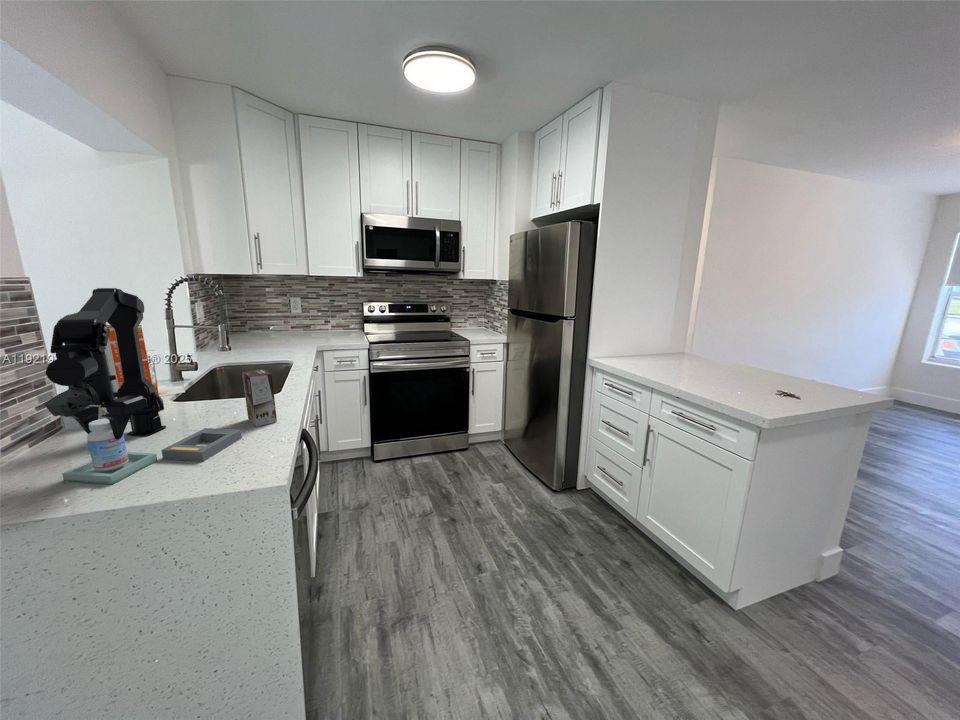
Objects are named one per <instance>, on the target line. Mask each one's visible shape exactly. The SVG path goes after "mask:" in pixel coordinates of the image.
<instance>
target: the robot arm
mask: <svg viewBox="0 0 960 720" xmlns="http://www.w3.org/2000/svg"><path fill="white" fill-rule="evenodd" d="M144 313H145V304H144V302H143V300H141V298H139V296H137V295H135V294H132V293H128V292H124V291H123V290H122V289H121V288H117V287H98V288H97V287H96V288H95V289H92V295H91V296H90V297H89V299H88V300H87V301H85V303H84V304H83V306H82V307H81V308H80V310H79V311H77V312H75V313H70V314H67V315H65V316H63V317H61V318H60V319H59V320H57V322H56V324H55V325H54V327H53V331H52V332H53V333H52V338H51V345H50V351H49V352H50V354H55V358H56V359H54V360H52V361H51V362H50V363H48V365H47V367H46V369H45V375H46V377H47V379H48V380H49V381H51V382H52V383H53V384H56V385H58V386H63V387H68V389H67V390H63V392H60V393H58V394H57V395H55V396H53V397H51V398H49V399H48V400H47V401H45V402H44V403H43V405H44V406H45V407H46V410H48V412H49V413H50V414H51V415H52V416H53V417H58V416H59V417H65V418H67V417H68V418H69V417H70V418H73V419H74V420H75V421H76V423H78V424H79V425H80V426H81V428H82V429H83V430H84V431H85V433H86V434H87V435H88V434H89V433H90V432H92V431H91V430H90V429H89V423H90V422H92V421H95V420H99V414H100V413H99V412H100V411H99V410H100V407H102V408H106V410H107V412H108V413H107V412H106V413H105V414H102V415H101V417H102V418H103V419H104V418H106V419H108V420H109V422H110V425H111V428H112V431H113V434H114V437H115V439H120V438H122V436H123V434H124V432H125V430H126V428H127V426H128V423H130V427H131V431H129V432H127V433H126V435H127V436H138V437H139V436H140V437H141V436H143V437H148V436H150V435H153V434H155V433H157V432H159V431H162V430H164V429H166V428H167V425H162V420H161V415H159V413H160V412H162V411H164V410H165V406H164V405H165V404H164V400H163V399H162V398H161V396H160V395H159V393H158V392H157V391H156V388H155V385H154V384H153V382H152V383H151V382H150V381H148V380H147V379H146V377H145V372H144V366H143V359H142V353H141V347H140V341H139V335H138V326H139V325H141V323H142V321H144ZM106 322H108V323H109V324H110V325H111V326H112V327H113V328H114V329H115V333H116V338H117V344H118V350H119V356H120V362H121V367H122V373H123V379H124V382H123V384H122V385H121V387H120V389H118V391H117V392H114V391H113V386H112V382H111V381H112V380H116V375H110V372H109V368H108V363H107V359H106V354H105V351H104V350H105V349H106V347H105V346H107V343H108V338H109V333H110V329H109V328H108V327H107V325H106ZM115 397H117V399H115V400H114V398H115ZM129 419H130V422H128V421H129Z"/></svg>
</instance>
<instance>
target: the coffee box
mask: <svg viewBox="0 0 960 720" xmlns="http://www.w3.org/2000/svg"><path fill="white" fill-rule="evenodd" d="M241 376H242V382H243V384H242V385H243V390H244V391H243V392H244V398H245V405H246V412H247V418H248V421H249V422H251V423H252V425H254V427H256V428H257V427H261V426H266V425H271V424H274V423H277V422H278V420H277V417H278V416H277V409H276V399H275V390H274V381H273V373H271V372H270V371H268V370H266V369H264V368H258V369H253V370H249V371H242V372H241Z"/></svg>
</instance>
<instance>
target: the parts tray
mask: <svg viewBox="0 0 960 720" xmlns="http://www.w3.org/2000/svg"><path fill="white" fill-rule="evenodd" d="M127 454H128V459H129V461H128V462H127V463H126V464H125V465H123V466H121V467H118V468H115V469H112V470H106V471H99V470H95V469H94V467H93V463H92V459H91V460H89V461H86V462H84V463H83V464H81V465H80V464H79V465H77V466H75V467H74V468H71V469H69V470H67V471H65V472H62V473H61V475H62V478H63V482H65V481H68V483H81V484H98V485H99V484H100V485H115V484H116V483H117V484H118V482H121V481H122V480H124V479H126V478H128V477H130V476H132V475H134V474H135V473H138V472H139V471H142V470H143V469H145V468H148V466H151V465H152V464H155V463H156V462H158V456H157V453H151V452H149V453H148V452H133V451H127Z"/></svg>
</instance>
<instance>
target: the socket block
mask: <svg viewBox="0 0 960 720" xmlns="http://www.w3.org/2000/svg"><path fill="white" fill-rule="evenodd" d="M242 438H243V434H242V429H231V428H230V429H226V428H213V427H212V428H209V427H207V428H206V427H204V428H202V429H200V430H198V431H196V432H195V433H192V434H190V435H188V436H187V437H185V438H182V439H181V440H179V441H177V442H175V443H173V444H171V445H168V446H167V447H165V448H163V449H161V456H162V460H172V461H189V462H190V461H193V462H205V461H207V460H208V459H210V458H212V457H213V456H215V455H217V454H218V453H220V452H221V451H223V450H225V449H227V448H228V447H229V446H231V445H233V444H234V443H236V442H238V441H240V440H241V439H242ZM202 442H209V444H207V445H206V446H205V445H198V444H201V443H202Z"/></svg>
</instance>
